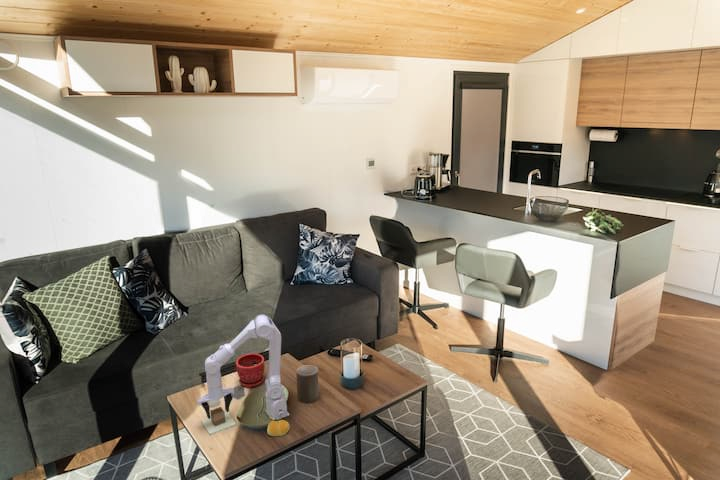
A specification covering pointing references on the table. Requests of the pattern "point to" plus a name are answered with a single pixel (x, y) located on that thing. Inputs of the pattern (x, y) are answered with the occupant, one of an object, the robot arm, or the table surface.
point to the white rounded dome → (214, 403)
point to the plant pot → (250, 370)
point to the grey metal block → (238, 392)
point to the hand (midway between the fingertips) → (218, 414)
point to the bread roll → (278, 428)
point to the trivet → (215, 429)
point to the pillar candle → (307, 384)
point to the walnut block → (217, 416)
